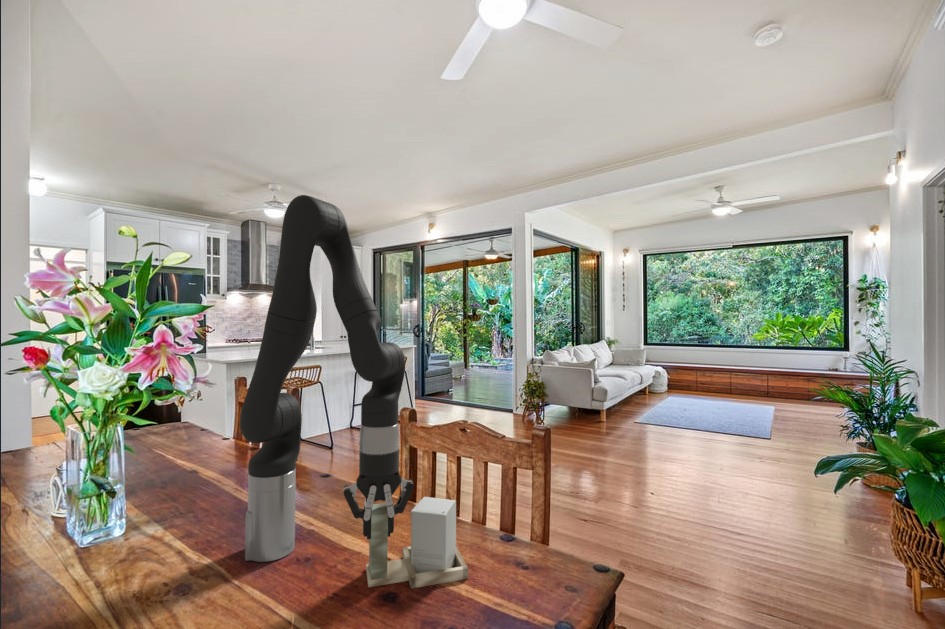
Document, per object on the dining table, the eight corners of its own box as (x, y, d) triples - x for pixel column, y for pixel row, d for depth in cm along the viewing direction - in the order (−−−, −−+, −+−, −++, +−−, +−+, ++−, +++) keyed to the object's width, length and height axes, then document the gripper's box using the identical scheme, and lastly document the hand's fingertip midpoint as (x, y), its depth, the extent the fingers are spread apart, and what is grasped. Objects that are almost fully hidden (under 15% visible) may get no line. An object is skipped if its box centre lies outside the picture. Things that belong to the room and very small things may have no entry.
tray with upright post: (369, 595, 80) (370, 523, 79) (365, 562, 90) (366, 498, 90) (468, 578, 85) (468, 511, 85) (453, 549, 95) (454, 489, 95)
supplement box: (457, 561, 91) (457, 499, 91) (445, 581, 84) (446, 515, 84) (423, 555, 93) (424, 495, 93) (409, 575, 86) (410, 510, 86)
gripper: (341, 455, 80) (340, 551, 80) (419, 449, 84) (418, 540, 84) (341, 443, 87) (340, 531, 87) (412, 438, 91) (411, 522, 91)
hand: (378, 535), depth 85 cm, fingers closed on tray with upright post, 3 cm apart
